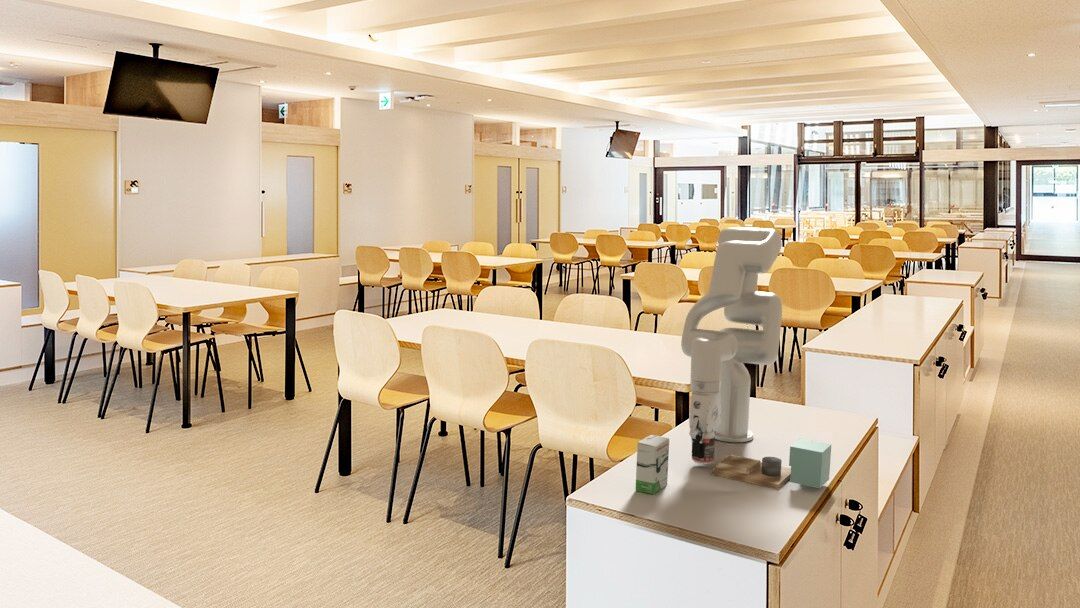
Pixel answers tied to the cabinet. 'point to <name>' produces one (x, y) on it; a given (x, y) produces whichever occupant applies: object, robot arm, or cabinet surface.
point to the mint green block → (810, 463)
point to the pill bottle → (707, 448)
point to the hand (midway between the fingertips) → (703, 452)
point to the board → (753, 470)
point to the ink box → (652, 464)
